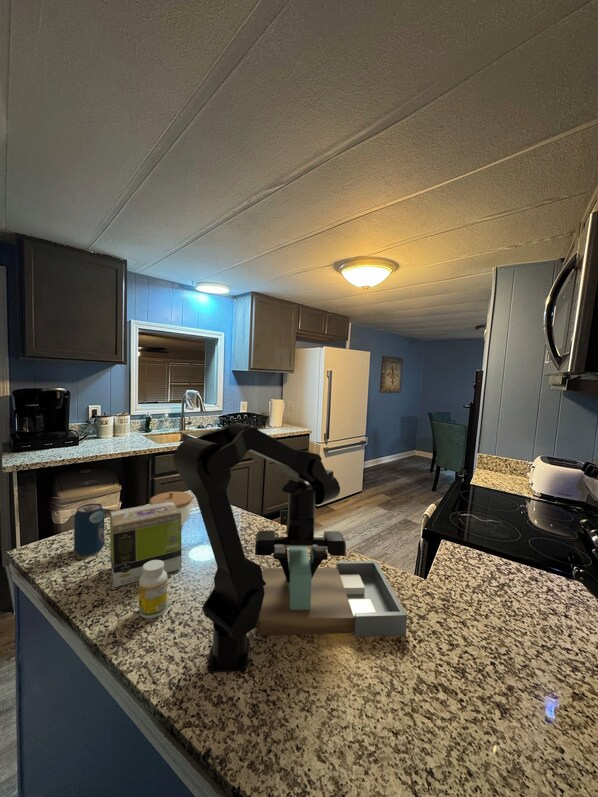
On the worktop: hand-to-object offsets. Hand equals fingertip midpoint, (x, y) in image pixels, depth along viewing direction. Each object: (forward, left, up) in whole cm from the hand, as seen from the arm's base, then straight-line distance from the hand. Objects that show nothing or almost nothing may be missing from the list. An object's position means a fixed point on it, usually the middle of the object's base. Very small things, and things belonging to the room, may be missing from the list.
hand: (298, 581), depth 71 cm
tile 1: (+5, -13, -5) cm, 14 cm away
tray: (0, -15, -5) cm, 16 cm away
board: (0, -1, -5) cm, 5 cm away
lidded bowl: (+38, +38, -5) cm, 54 cm away
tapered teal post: (0, 0, -2) cm, 2 cm away
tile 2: (-4, -13, -5) cm, 14 cm away
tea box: (+14, +37, -5) cm, 40 cm away
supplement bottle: (-1, +30, -5) cm, 30 cm away
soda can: (+23, +55, -5) cm, 60 cm away
